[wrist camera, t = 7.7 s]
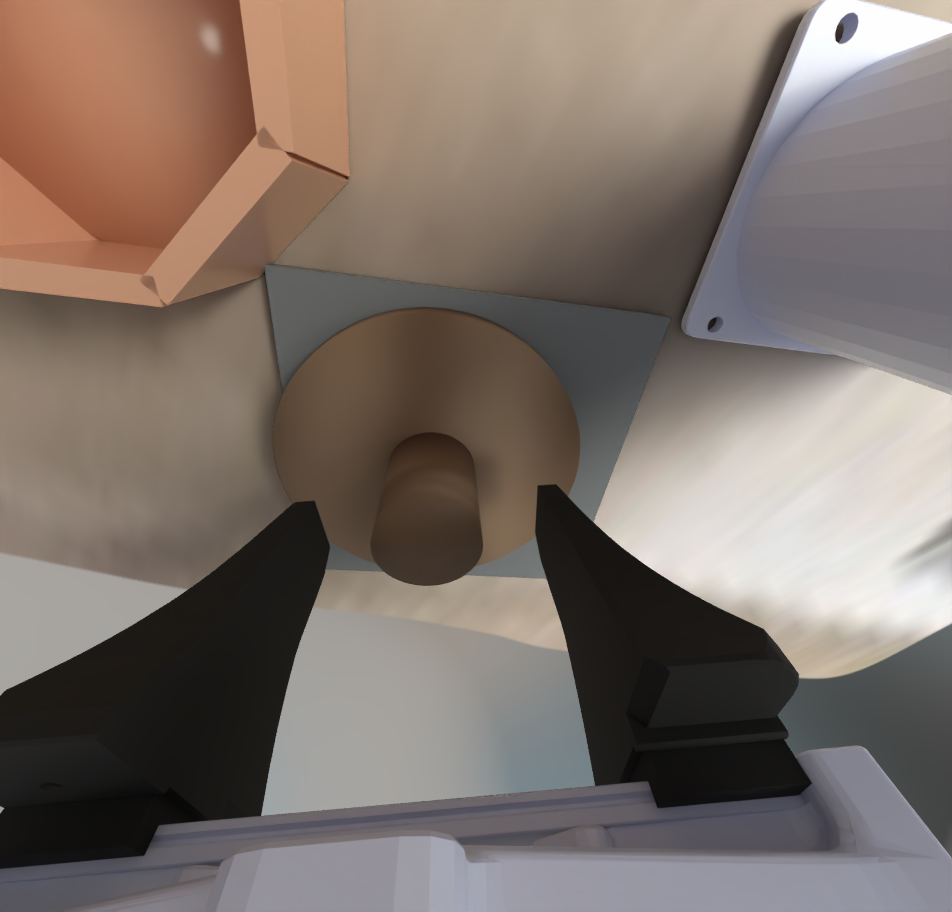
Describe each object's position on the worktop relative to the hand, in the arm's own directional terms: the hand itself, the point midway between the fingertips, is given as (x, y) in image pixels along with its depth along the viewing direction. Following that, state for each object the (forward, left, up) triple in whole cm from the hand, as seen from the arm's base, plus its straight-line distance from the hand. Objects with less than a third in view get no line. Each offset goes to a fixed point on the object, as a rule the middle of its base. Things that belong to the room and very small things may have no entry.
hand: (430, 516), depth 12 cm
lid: (0, 0, -3) cm, 3 cm away
